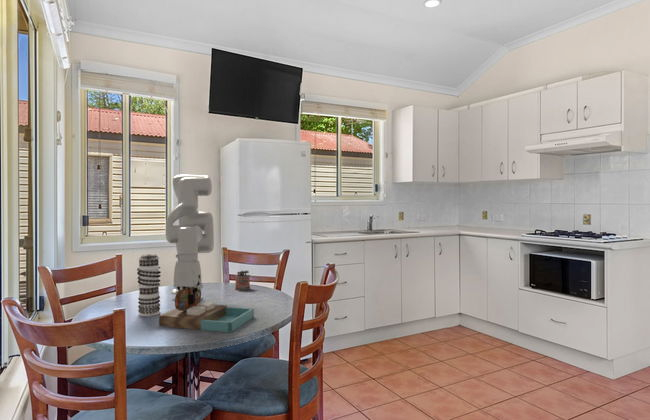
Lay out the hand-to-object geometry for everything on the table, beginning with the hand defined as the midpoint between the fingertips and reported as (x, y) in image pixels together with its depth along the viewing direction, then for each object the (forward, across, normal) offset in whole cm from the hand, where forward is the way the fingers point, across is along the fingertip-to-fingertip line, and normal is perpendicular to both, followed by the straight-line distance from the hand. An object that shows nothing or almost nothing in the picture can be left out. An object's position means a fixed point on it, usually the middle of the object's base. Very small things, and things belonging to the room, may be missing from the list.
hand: (188, 303), depth 164 cm
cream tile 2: (+3, +6, +3) cm, 7 cm away
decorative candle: (+7, -21, +4) cm, 23 cm away
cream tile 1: (+3, +6, -4) cm, 7 cm away
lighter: (+7, -4, +58) cm, 58 cm away
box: (+7, +18, 0) cm, 19 cm away
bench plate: (+7, +3, 0) cm, 7 cm away
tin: (+2, 0, 0) cm, 2 cm away
